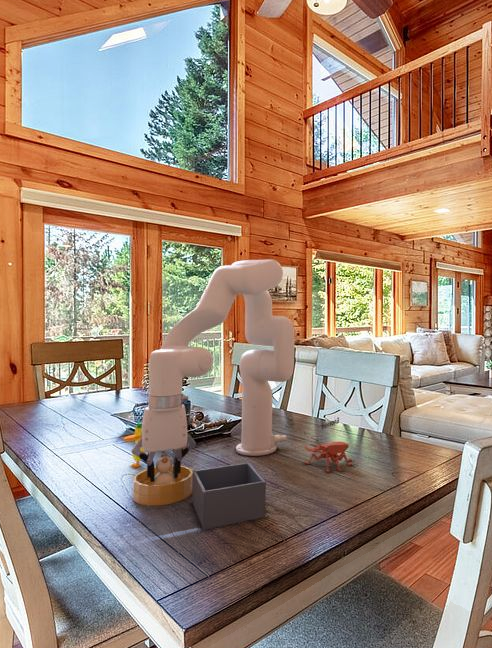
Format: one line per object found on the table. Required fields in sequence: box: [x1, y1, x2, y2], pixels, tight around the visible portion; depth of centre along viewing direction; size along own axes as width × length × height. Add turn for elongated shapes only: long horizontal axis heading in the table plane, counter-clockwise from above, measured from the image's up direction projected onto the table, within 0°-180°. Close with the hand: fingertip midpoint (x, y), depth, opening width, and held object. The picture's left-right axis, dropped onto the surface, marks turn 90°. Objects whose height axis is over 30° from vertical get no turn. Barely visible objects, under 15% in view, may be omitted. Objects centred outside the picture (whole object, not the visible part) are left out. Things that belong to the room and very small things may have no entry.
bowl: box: [132, 464, 194, 507], centre depth 107 cm, size 13×13×5 cm
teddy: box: [152, 453, 175, 485], centre depth 107 cm, size 5×5×9 cm
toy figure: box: [122, 422, 146, 469], centre depth 126 cm, size 7×4×12 cm, turn 138°
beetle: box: [303, 417, 354, 473], centre depth 131 cm, size 15×12×13 cm
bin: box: [191, 461, 267, 531], centre depth 100 cm, size 13×13×8 cm
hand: (163, 477), depth 107 cm, fingers closed on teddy, 4 cm apart
